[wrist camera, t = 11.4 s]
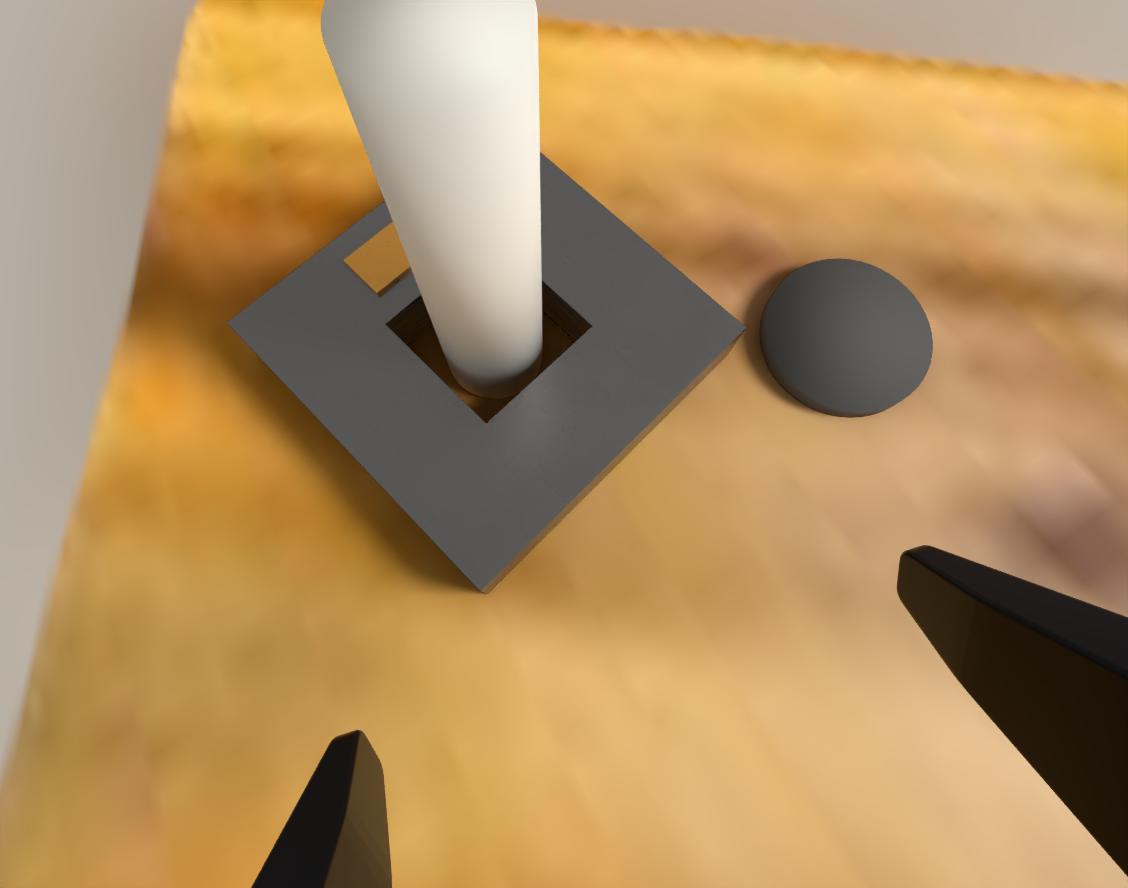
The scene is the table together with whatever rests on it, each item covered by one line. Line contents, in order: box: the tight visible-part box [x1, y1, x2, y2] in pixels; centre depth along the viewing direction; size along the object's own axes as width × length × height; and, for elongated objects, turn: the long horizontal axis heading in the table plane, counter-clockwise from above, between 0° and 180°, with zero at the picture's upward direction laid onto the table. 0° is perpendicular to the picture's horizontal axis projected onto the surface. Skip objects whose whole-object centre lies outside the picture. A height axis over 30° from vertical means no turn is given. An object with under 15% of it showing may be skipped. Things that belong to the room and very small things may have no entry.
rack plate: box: [227, 152, 746, 594], centre depth 24 cm, size 14×14×3 cm
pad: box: [760, 259, 933, 417], centre depth 26 cm, size 7×7×1 cm
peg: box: [321, 0, 543, 399], centre depth 19 cm, size 4×4×15 cm
